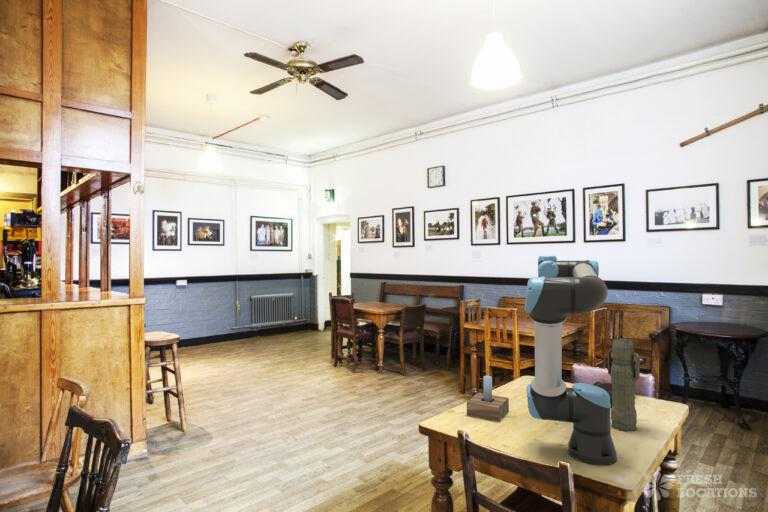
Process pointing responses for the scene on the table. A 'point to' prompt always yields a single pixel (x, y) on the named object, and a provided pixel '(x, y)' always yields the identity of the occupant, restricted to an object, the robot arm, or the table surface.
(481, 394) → the bore block
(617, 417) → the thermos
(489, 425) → the table surface
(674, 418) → the table surface
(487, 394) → the dowel pin
